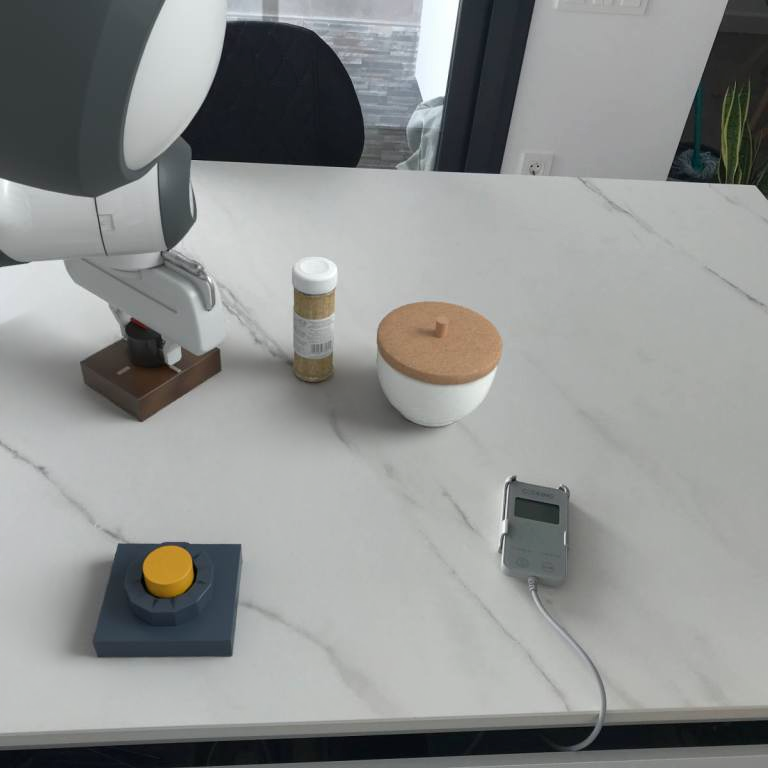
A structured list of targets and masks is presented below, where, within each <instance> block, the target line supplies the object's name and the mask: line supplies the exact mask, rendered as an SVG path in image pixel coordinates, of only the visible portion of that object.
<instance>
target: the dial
mask: <svg viewBox="0 0 768 768" xmlns="http://www.w3.org/2000/svg"><path fill="white" fill-rule="evenodd" d="M125 335H126V341H127V347H128V353H129V358H130V360H131V361H132V363H134V364H135V365H137V366H140V367H157V366H160V365H163V364H165V362H163V361H162V360H160V359H159V353H158V349H157V347H159V346H160V345H162V344H165V343H166V340H163V339H162V337H161V334H159V333H158V332H156V331H154V330H153V329H151V328H149V327H148V326H146V325H144V324H143V323H141V322H139V321H138V320H136V319H134V318H133V317H132V318H130V322H129V323H128V324H127V325H126V327H125Z"/></svg>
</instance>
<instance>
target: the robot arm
mask: <svg viewBox="0 0 768 768" xmlns="http://www.w3.org/2000/svg"><path fill="white" fill-rule="evenodd" d="M227 10H228V0H0V268H6V267H12V266H19V265H27V264H30V263H34V262H49V261H62V262H63V265H64V268H65V271H66V272H67V274H68V275H69V277H70V278H71V280H72V282H74V284H76V285H78V286H79V287H81V288H83V289H84V290H86V291H88V292H89V293H91V294H93V295H94V296H95V297H98V298H100V300H103V301H104V302H105V303H107V304H108V308H109V310H110V312H111V313H112V314H113V317H114V318H115V320H116V321H117V323H118V325H119V329H120V334H121V337H122V338H124V337H125V338H126V335H125V327H126V325H127V324H128V323H129V322H130V318H132V317H133V318H134V319H136V320H138V321H139V322H141V323H143V324H144V325H146V326H148V327H149V328H151V329H153V330H154V331H156V332H158V333H159V334H161V337H162V339H163V340H166V343H165V344H162V345H160V346H159V347H157V349H158V353H159V359H160V360H162V361H163V362H165V363H167V364H168V365H173V364H174V363H176V362H178V361H179V360H180V359H181V357H182V355H181V347H183V348H184V349H186V350H188V351H189V352H191V353H193V354H194V355H197V356H200V355H203V354H205V353H207V352H208V351H210V350H212V349H214V348H215V347H217V348H218V346H220V345H221V344H222V343H224V341H225V340H226V339H227V335H228V330H227V329H228V328H227V322H226V316H225V311H224V306H223V300H222V296H221V293H220V289H219V287H218V284H217V282H216V280H215V278H213V277H212V275H211V274H209V273H208V272H207V271H206V270H205V268H204V266H203V265H202V264H201V263H200V262H199V261H197V260H195V259H190V258H189V257H187V256H186V255H184V254H183V253H181V252H182V250H183V248H184V243H185V242H184V238H185V236H187V234H188V233H189V232H190V230H191V229H192V228H193V226H194V225H195V223H196V222H197V217H198V208H197V200H196V196H195V192H194V187H193V184H192V177H191V168H192V167H191V165H192V156H193V155H192V148H191V146H190V144H189V143H188V142H187V141H186V140H185V139H184V138H183V137H182V136H181V134H183V133H184V131H185V130H186V129H187V128H188V126H189V125H190V123H191V122H192V120H193V119H194V118H195V116H196V115H197V113H198V112H199V110H200V109H201V106H202V105H203V103H204V101H205V100H206V97H207V95H208V94H209V91H210V89H211V87H212V85H213V81H214V79H215V77H216V74H217V71H218V69H219V68H218V67H219V65H220V60H221V57H222V52H223V47H224V41H225V35H226V29H227V19H228V18H227V16H228V14H227V13H228V11H227Z"/></svg>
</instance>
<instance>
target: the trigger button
mask: <svg viewBox="0 0 768 768" xmlns="http://www.w3.org/2000/svg"><path fill="white" fill-rule="evenodd" d="M143 573H144V578H145V583H146V587H147V589H148V590H149V592H150V593H152V594H153V595H155V596H157V597H160V598H172V597H176V596H178V595H180V594H182V593H184V592H185V591H186V590H187V589H188V588H189V587H190V586H191V584H192V582H193V578H194V572H193V565H192V559H191V556H190V554H189V553H188V552H187V551H186V550H185V549H183V548H181V547H178V546H164V547H160V548H158V549H156V550H154V551H153V552H151V553H150V554H149V555H148V556H147V558H146V559H145V561H144V564H143Z"/></svg>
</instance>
